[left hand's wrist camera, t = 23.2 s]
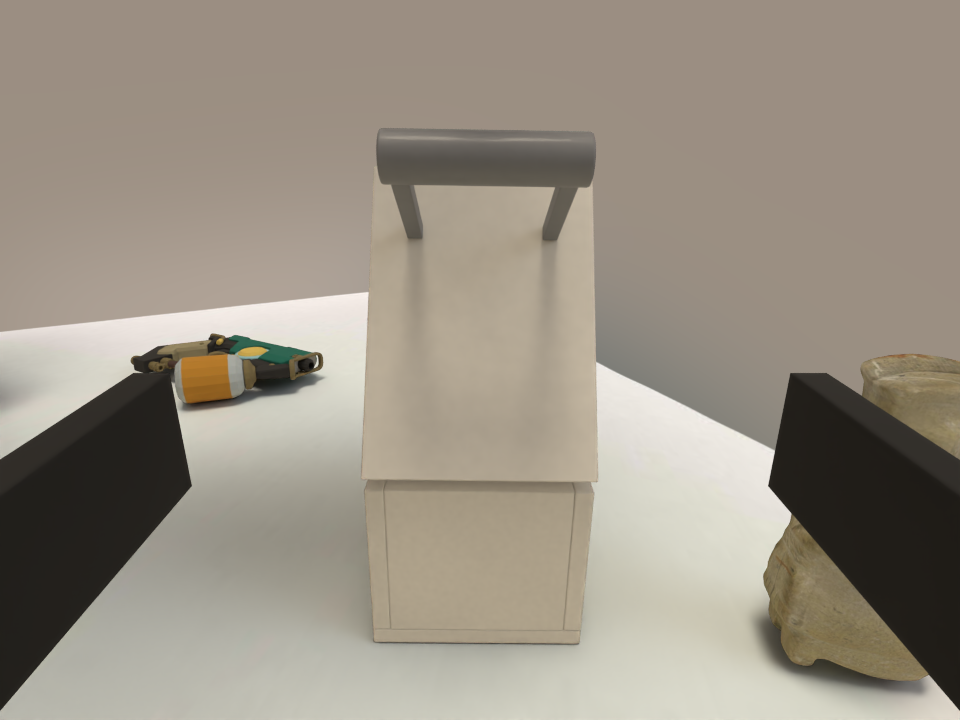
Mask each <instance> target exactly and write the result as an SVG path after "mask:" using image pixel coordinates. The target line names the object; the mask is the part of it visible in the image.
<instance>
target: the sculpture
mask: <svg viewBox="0 0 960 720" xmlns="http://www.w3.org/2000/svg"><path fill="white" fill-rule="evenodd" d="M861 374H862V376H863V379H864V386H863V393H862V396H863V397H864V398H866V399H867V400H869V401H870V402H872V403H873V404H875V405H876V406H878V407H879V408H881V409H883V410H884V411H886V412H887V413H889V414H890V415H892V416H893V417H895V418H896V419H898V420H899V421H901V422H903V423H904V424H906V425H907V426H909V427H910V428H912V429H913V430H915V431H916V432H918V433H919V434H921V435H923V436H924V437H926V438H927V439H929V440H930V441H932V442H933V443H935V444H936V445H938V446H939V447H941V448H943V449H944V450H946V451H947V452H949V453H950V454H952V455H953V456H955V457H956V458H958V459H960V361H956V360H952V359H948V358H943V357H937V356H929V355H920V354H898V355H889V356H884V357H878V358H874V359H871V360H868V361H865V362H863V363H862V365H861ZM763 579H764V586H765V588H766V590H767V592H768V595H769V597H770V603H769V609H768V610H769V615H770V618H771V621H772V623H773V625H774V626H775V627H776V628H778V629H779V630H780V631H781V644H782V647H783V649H784V651H785V652H786V654H787V656H788V657H789V659H790V660H791V661H792V662H794V663H795V664H798V665H804V666H810V665H812V664H813V663H814V661H815V660H816V659H826V660H829V661H831V662H834V663H836V664H838V665H841V666H843V667H846V668H849V669H851V670H854V671H857V672H860V673H863V674H866V675H869V676H873V677H876V678H881V679H887V680H899V681H915V680H919V679H921V678H923V677H925V676H927V675H929V674H928V673H927V672H926V670H925V669H924V668H923V667H922V666H921V665H920V663H919V662H918V661H917V660H916V659H915V658H914V656H913V655H912V654H911V653H910V652H909V651H908V649H907V648H906V647H905V646H904V645H903V643H902V642H901V641H900V640H899V639H898V638H897V636H896V635H895V634H894V633H893V632H892V631H891V629H890V628H889V627H888V626H887V625H886V624H885V622H884V621H883V620H882V619H881V618H880V616H879V615H878V614H877V613H876V612H875V611H874V609H873V608H872V607H871V606H870V605H869V604H868V602H867V601H866V600H865V599H864V598H863V597H862V595H861V594H860V593H859V592H858V591H857V590H856V588H855V587H854V586H853V585H852V584H851V582H850V581H849V580H848V579H847V578H846V577H845V575H844V574H843V573H842V572H841V571H840V570H839V568H838V567H837V566H836V565H835V564H834V563H833V561H832V560H831V559H830V558H829V557H828V556H827V554H826V553H825V552H824V551H823V550H822V548H821V547H820V546H819V545H818V544H817V543H816V541H815V540H814V539H813V538H812V537H811V536H810V534H809V533H808V532H807V531H806V530H805V529H804V527H803V526H802V525H801V524H800V523H799V521H798V520H797V519H796V518H795V517H794V516H793V514H792V515H791V520H790V523H789V525H788V527H787V528H786V529H785V532H784V534H783V537H782V538H781V539H780V540H779V542H778V543H777V544H776V546H775V548H774V550H773V552H772V554H771V556H770V558H769V561H768V567H767V569H766V571H765V572H764V575H763Z"/></svg>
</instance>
